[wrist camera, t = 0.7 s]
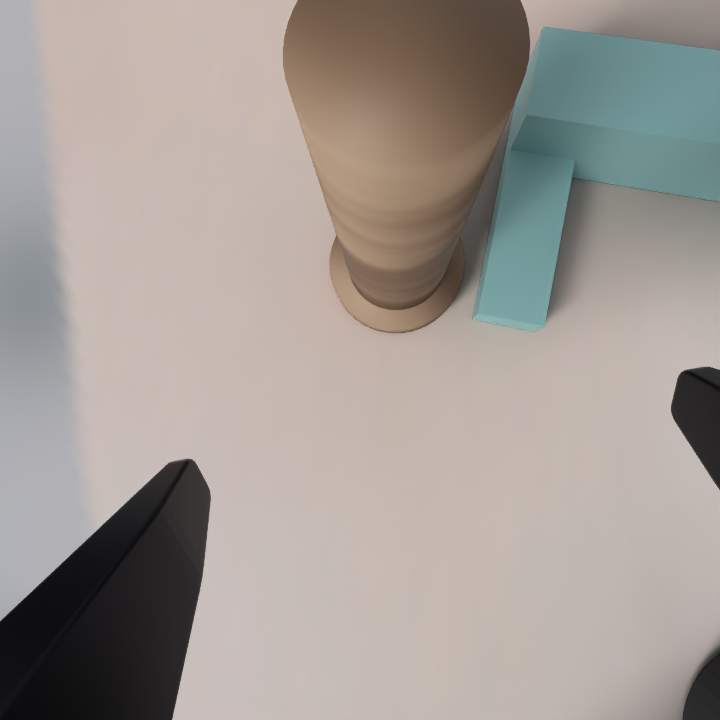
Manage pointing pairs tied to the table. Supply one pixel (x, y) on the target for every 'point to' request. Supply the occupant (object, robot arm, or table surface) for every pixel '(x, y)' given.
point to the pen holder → (705, 694)
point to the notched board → (593, 150)
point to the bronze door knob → (402, 137)
